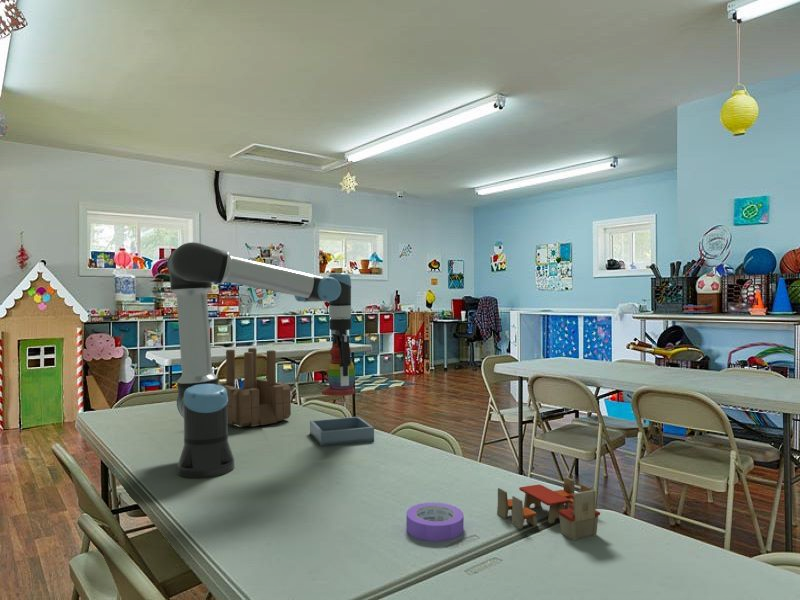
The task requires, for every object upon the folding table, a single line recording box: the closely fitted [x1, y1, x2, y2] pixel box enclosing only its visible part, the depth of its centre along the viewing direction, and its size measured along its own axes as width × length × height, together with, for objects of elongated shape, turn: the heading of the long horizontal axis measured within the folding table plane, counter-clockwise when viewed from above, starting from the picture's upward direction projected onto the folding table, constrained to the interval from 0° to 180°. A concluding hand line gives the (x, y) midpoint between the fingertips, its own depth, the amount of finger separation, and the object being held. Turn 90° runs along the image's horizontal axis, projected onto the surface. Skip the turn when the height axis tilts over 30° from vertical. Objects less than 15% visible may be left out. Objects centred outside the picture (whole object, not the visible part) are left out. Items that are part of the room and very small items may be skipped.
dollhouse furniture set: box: [496, 476, 601, 541], centre depth 113 cm, size 19×19×10 cm
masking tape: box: [405, 502, 465, 542], centre depth 110 cm, size 12×12×4 cm
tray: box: [309, 416, 375, 447], centre depth 185 cm, size 18×18×4 cm
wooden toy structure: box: [218, 347, 292, 428], centre depth 217 cm, size 23×30×27 cm
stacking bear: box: [321, 343, 356, 397], centre depth 185 cm, size 11×10×18 cm
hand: (341, 383), depth 185 cm, fingers closed on stacking bear, 9 cm apart
